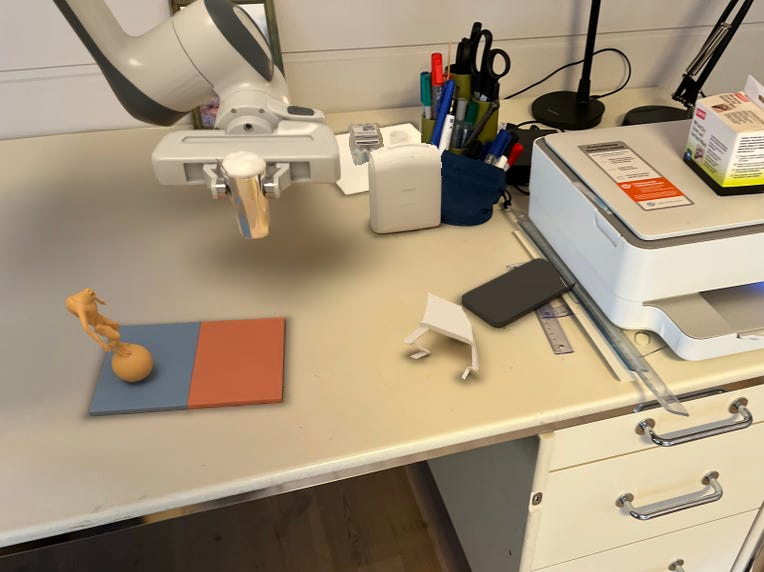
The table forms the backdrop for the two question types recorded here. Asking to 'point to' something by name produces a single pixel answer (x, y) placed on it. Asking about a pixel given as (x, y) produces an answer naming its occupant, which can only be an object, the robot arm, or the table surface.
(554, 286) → the phone
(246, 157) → the milkshake
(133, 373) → the figurine
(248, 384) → the sorting board
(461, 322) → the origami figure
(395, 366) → the table surface
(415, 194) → the photo printer
